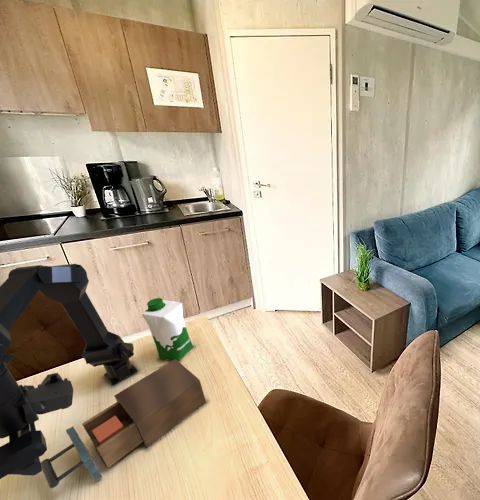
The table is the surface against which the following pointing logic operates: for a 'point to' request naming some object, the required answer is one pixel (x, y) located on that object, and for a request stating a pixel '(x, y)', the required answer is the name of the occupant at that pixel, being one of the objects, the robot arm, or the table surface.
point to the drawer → (97, 444)
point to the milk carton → (168, 328)
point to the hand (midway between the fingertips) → (35, 455)
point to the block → (108, 430)
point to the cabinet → (162, 400)
